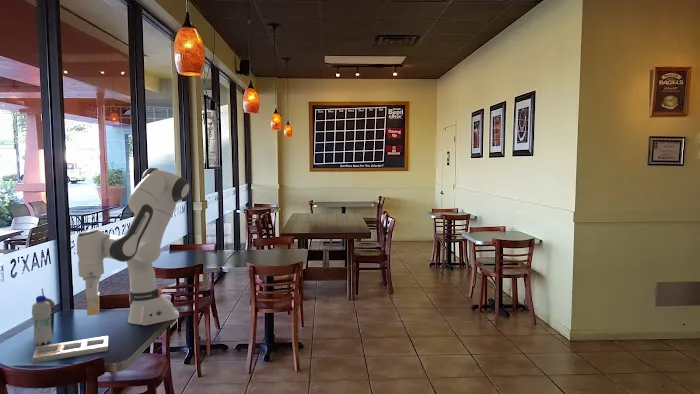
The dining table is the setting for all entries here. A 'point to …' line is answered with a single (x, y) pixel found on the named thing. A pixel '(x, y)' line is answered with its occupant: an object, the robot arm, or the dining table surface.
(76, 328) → the dining table surface
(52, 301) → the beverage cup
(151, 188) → the robot arm
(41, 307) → the bottle
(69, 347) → the white slotted tray
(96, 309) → the brass peg
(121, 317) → the dining table surface
